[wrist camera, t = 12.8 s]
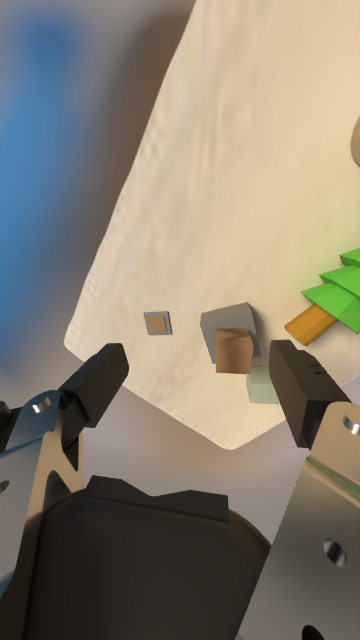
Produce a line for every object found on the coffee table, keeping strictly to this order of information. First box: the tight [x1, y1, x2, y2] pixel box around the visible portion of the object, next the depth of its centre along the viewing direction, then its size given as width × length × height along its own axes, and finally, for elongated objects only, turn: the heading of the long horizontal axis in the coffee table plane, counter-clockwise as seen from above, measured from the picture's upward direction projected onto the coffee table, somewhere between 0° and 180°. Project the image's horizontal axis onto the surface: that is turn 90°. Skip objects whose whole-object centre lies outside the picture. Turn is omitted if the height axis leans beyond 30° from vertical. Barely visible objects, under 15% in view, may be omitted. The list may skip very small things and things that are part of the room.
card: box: [144, 311, 172, 335], centre depth 44 cm, size 6×6×1 cm
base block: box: [200, 302, 261, 364], centre depth 39 cm, size 10×10×6 cm
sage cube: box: [246, 366, 279, 404], centre depth 43 cm, size 6×6×6 cm
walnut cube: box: [216, 328, 253, 374], centre depth 34 cm, size 6×6×6 cm
